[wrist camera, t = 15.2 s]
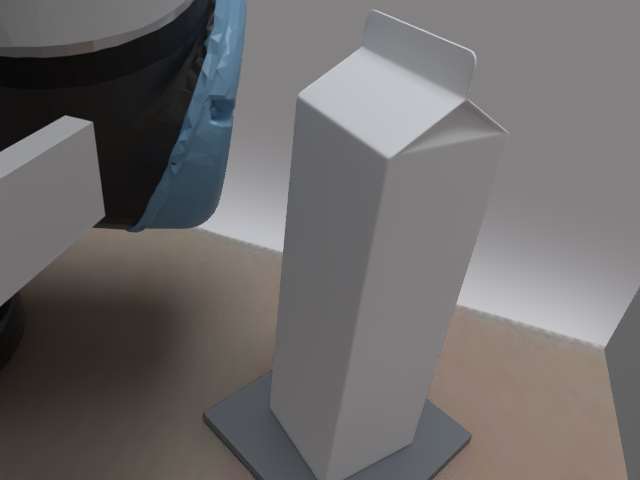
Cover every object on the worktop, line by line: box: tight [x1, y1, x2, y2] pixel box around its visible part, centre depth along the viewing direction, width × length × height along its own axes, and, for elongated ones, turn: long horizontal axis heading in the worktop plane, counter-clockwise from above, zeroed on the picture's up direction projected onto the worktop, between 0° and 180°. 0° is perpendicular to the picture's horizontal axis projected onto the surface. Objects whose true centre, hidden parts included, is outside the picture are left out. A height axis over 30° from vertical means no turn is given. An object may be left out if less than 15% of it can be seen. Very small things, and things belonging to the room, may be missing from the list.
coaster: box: [203, 370, 472, 480], centre depth 33 cm, size 11×11×1 cm
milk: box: [270, 10, 510, 480], centre depth 26 cm, size 6×6×22 cm
